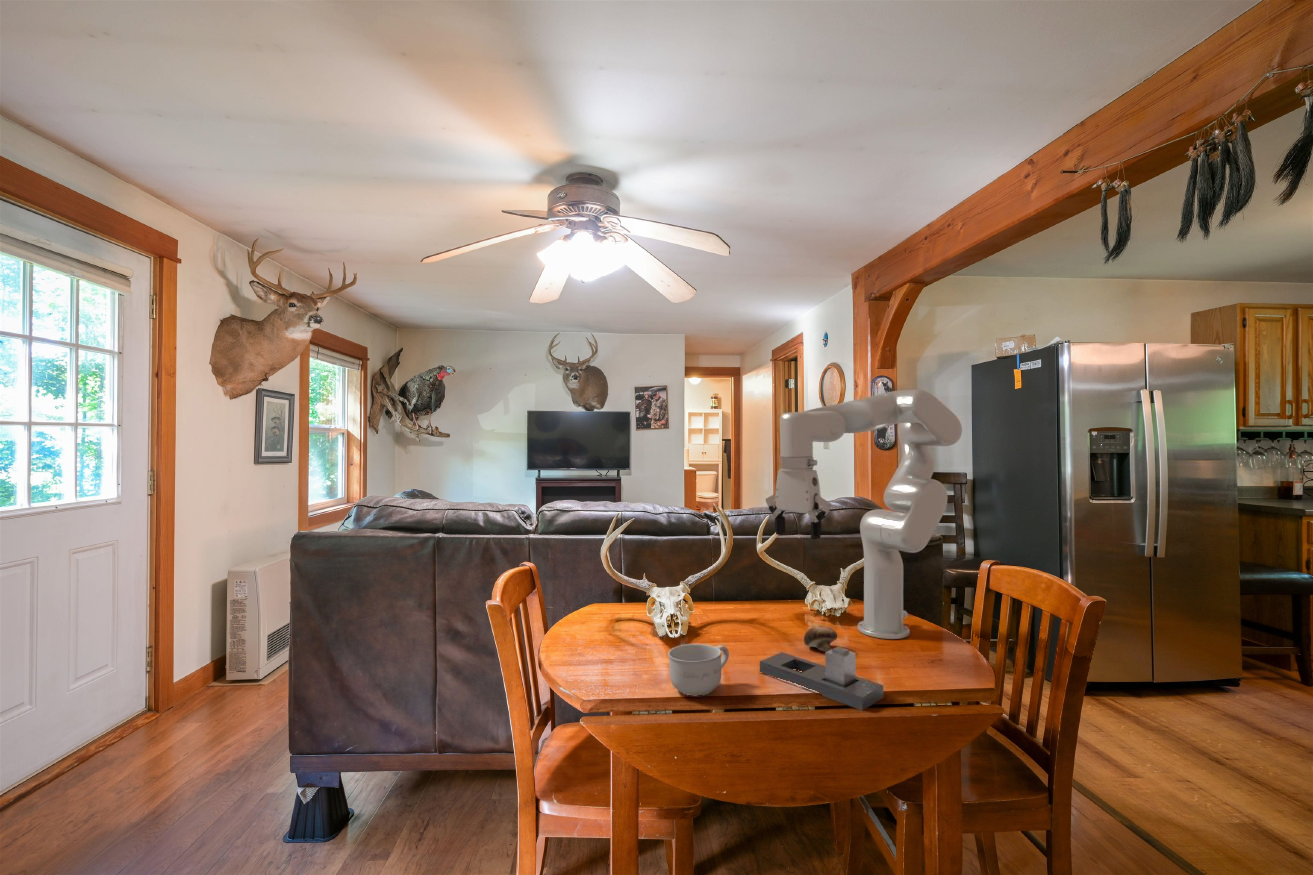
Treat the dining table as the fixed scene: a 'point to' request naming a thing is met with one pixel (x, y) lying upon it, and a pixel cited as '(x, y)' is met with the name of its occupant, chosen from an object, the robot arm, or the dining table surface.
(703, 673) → the teacup
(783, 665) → the rail
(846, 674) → the grey rectangular block
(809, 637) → the mushroom
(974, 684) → the dining table surface
